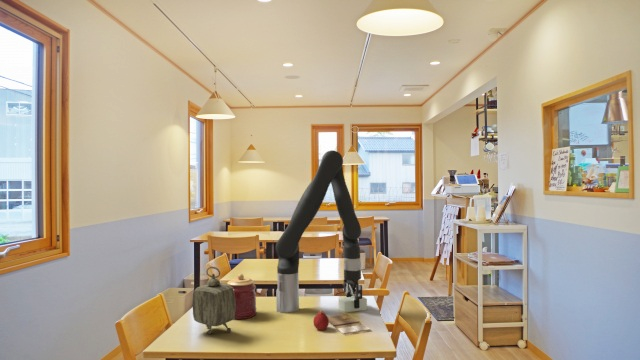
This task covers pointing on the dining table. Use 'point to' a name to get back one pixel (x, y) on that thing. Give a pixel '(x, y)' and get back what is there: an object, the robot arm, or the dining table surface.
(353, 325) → the board
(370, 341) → the dining table surface
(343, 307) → the block
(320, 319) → the onion
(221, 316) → the tabletop clock
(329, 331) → the dining table surface
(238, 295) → the canister
